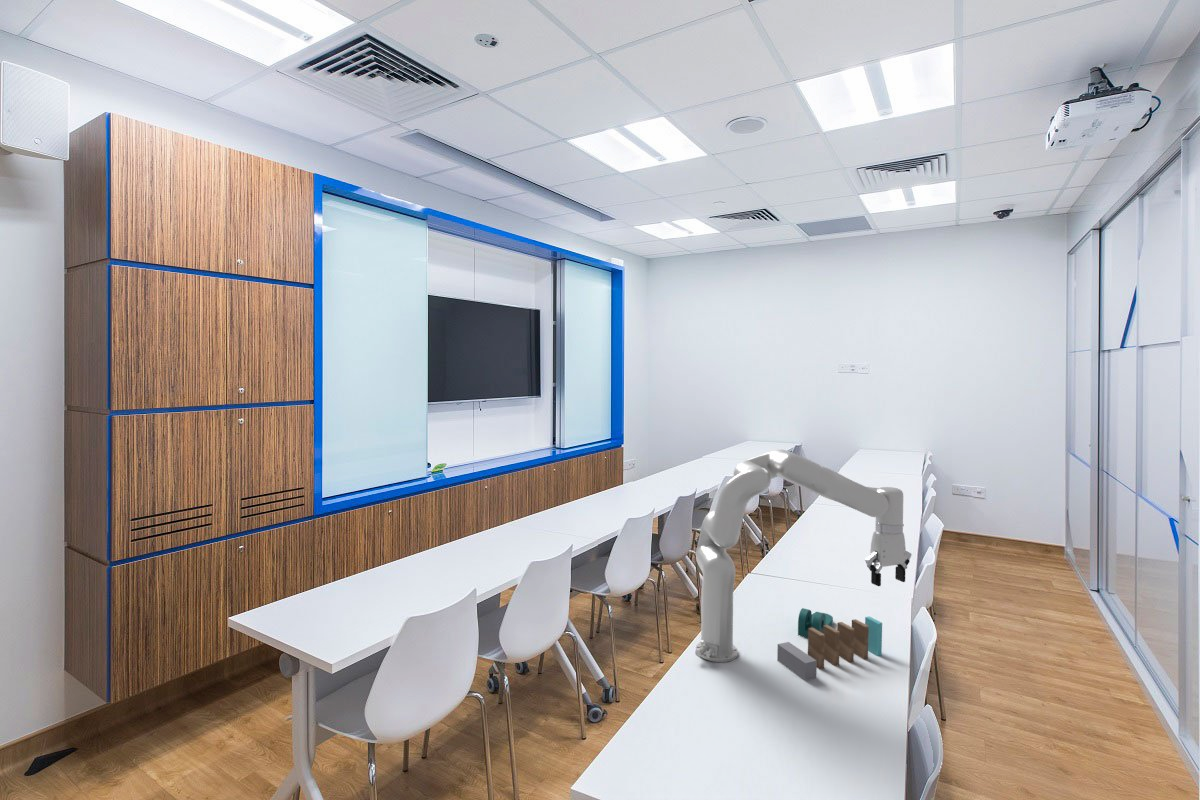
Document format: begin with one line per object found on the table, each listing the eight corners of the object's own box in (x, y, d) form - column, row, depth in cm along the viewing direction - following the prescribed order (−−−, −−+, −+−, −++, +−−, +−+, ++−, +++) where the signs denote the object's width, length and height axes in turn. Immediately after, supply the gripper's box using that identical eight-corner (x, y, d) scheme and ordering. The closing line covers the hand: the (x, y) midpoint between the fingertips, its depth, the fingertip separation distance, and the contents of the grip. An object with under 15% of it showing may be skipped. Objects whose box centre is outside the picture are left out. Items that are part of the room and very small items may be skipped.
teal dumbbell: (819, 641, 184) (819, 617, 184) (797, 635, 188) (798, 612, 188) (835, 622, 198) (835, 599, 198) (815, 617, 203) (815, 595, 202)
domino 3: (841, 653, 176) (841, 621, 175) (853, 661, 171) (854, 628, 171) (836, 654, 175) (837, 622, 175) (849, 662, 171) (849, 629, 170)
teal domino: (868, 647, 180) (869, 616, 179) (881, 655, 175) (882, 622, 175) (864, 648, 179) (865, 617, 179) (877, 656, 174) (878, 623, 174)
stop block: (788, 658, 173) (788, 641, 173) (816, 677, 162) (816, 660, 162) (777, 660, 172) (777, 644, 172) (804, 680, 161) (805, 663, 160)
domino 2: (826, 657, 174) (827, 624, 173) (839, 665, 169) (839, 631, 169) (822, 658, 173) (823, 625, 173) (834, 666, 169) (835, 632, 168)
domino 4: (855, 650, 178) (855, 619, 177) (867, 658, 173) (868, 625, 172) (851, 651, 177) (851, 620, 177) (863, 659, 172) (864, 626, 172)
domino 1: (812, 660, 172) (812, 627, 171) (823, 668, 167) (824, 634, 167) (807, 661, 171) (808, 628, 171) (819, 669, 167) (820, 635, 166)
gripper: (900, 522, 183) (899, 575, 184) (857, 527, 178) (856, 582, 178) (920, 528, 176) (919, 583, 177) (876, 534, 171) (875, 590, 171)
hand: (888, 582), depth 178 cm, fingers open, 9 cm apart
